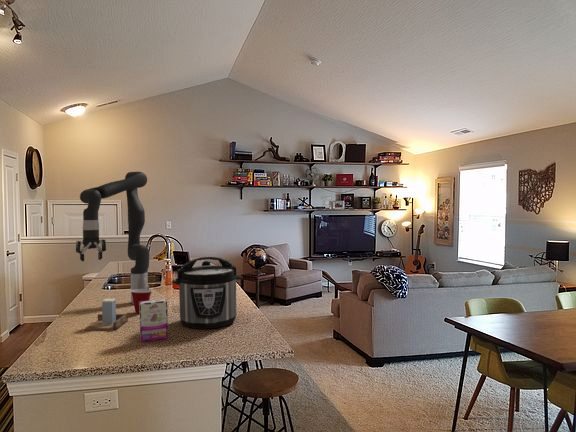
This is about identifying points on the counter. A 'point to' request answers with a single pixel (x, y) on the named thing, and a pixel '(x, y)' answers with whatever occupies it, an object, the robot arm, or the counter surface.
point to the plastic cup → (140, 297)
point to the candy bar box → (153, 320)
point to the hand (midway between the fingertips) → (91, 260)
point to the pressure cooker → (207, 293)
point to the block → (108, 311)
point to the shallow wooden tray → (99, 326)
